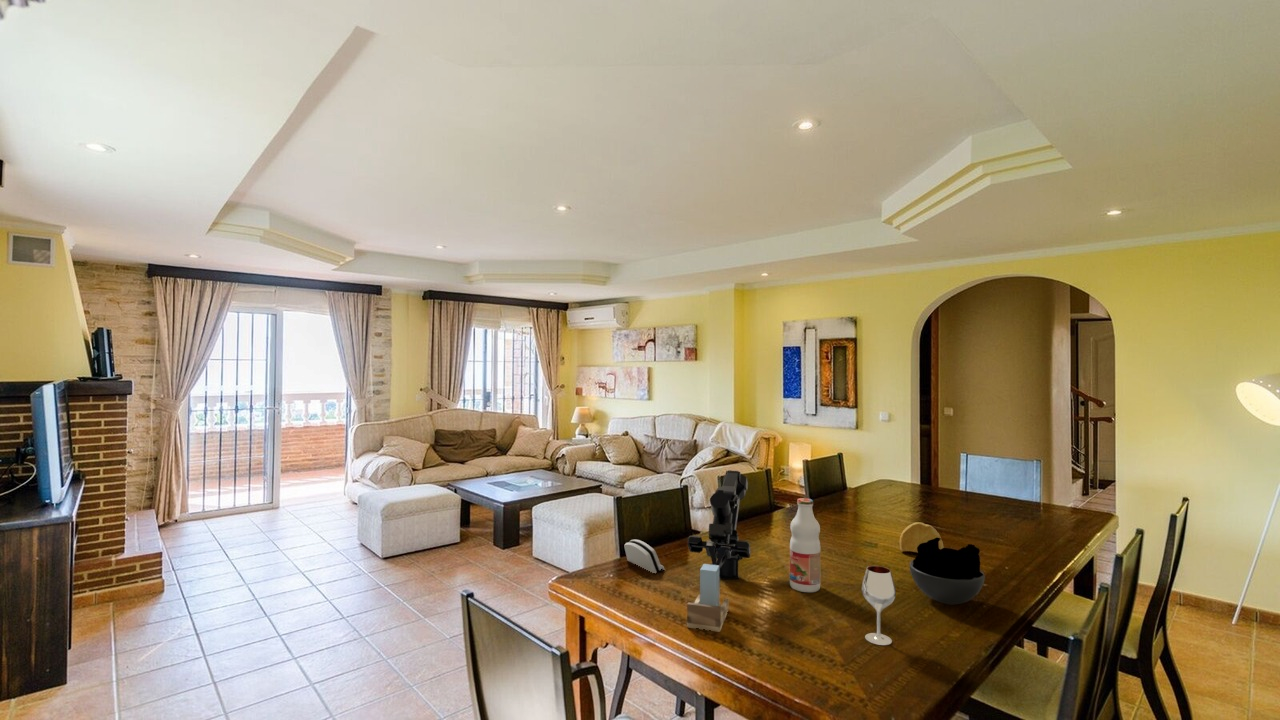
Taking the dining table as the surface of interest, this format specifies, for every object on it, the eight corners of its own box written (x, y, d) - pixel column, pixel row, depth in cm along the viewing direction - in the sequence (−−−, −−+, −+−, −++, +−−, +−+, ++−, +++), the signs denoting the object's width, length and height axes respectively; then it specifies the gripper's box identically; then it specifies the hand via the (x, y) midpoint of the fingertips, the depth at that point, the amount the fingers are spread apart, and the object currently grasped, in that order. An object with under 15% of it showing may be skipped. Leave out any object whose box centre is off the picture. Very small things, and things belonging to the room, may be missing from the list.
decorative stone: (903, 537, 232) (896, 514, 225) (945, 537, 225) (939, 514, 217) (903, 565, 223) (896, 543, 216) (947, 567, 216) (940, 544, 208)
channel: (698, 605, 169) (698, 584, 169) (728, 609, 166) (728, 588, 167) (687, 627, 155) (687, 604, 155) (719, 632, 152) (719, 608, 153)
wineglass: (856, 632, 153) (856, 564, 153) (885, 631, 153) (885, 563, 153) (870, 647, 144) (871, 575, 145) (902, 646, 145) (902, 574, 145)
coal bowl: (894, 594, 179) (894, 533, 179) (940, 585, 186) (940, 527, 187) (952, 620, 160) (952, 553, 160) (1000, 609, 168) (1000, 544, 168)
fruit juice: (824, 593, 179) (824, 503, 180) (793, 593, 179) (794, 502, 180) (815, 582, 189) (815, 496, 189) (786, 581, 189) (786, 496, 189)
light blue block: (703, 607, 165) (703, 563, 165) (719, 609, 164) (719, 565, 164) (699, 614, 160) (700, 569, 161) (715, 616, 159) (716, 571, 159)
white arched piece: (665, 571, 198) (658, 545, 196) (655, 578, 196) (647, 552, 194) (638, 557, 212) (631, 533, 210) (628, 564, 209) (620, 539, 208)
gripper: (688, 509, 178) (680, 556, 168) (749, 514, 173) (744, 563, 162) (693, 528, 186) (686, 574, 175) (752, 533, 180) (747, 581, 170)
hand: (715, 572), depth 170 cm, fingers closed
